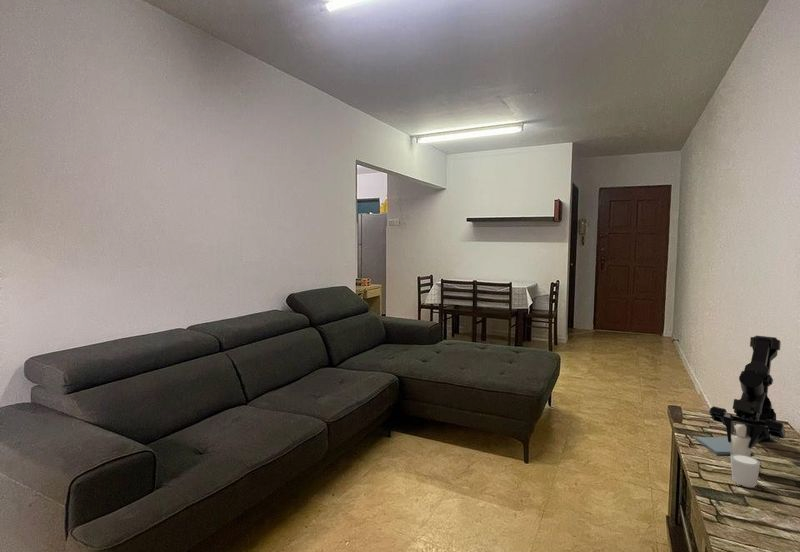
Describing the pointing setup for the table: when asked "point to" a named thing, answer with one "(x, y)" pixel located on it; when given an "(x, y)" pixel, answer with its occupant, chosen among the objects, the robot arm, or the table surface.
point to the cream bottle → (740, 441)
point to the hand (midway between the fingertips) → (739, 444)
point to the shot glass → (744, 470)
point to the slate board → (716, 444)
